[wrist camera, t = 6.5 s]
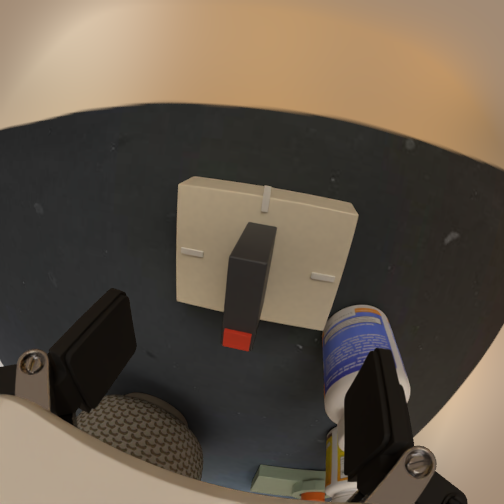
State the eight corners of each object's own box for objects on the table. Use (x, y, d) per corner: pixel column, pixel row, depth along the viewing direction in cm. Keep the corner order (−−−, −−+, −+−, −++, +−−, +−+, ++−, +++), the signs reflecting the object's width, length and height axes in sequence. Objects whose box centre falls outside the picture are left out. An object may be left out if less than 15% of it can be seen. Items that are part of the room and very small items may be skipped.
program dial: (248, 221, 15) (227, 258, 11) (277, 226, 15) (267, 266, 11) (238, 297, 18) (219, 347, 13) (263, 302, 17) (251, 354, 13)
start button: (328, 490, 29) (327, 500, 28) (320, 496, 31) (320, 505, 29) (305, 489, 29) (304, 499, 28) (298, 495, 31) (297, 504, 29)
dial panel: (353, 193, 16) (362, 205, 14) (320, 315, 20) (321, 339, 18) (194, 166, 17) (177, 173, 15) (188, 289, 21) (175, 309, 19)
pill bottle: (307, 334, 21) (301, 445, 12) (357, 288, 19) (383, 403, 10) (353, 364, 22) (362, 465, 13) (402, 325, 20) (435, 428, 11)
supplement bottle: (343, 445, 28) (342, 515, 19) (316, 432, 27) (311, 510, 18) (381, 429, 26) (388, 503, 17) (357, 414, 25) (360, 499, 16)
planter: (245, 444, 31) (218, 549, 16) (153, 442, 36) (118, 518, 22) (163, 358, 25) (88, 497, 11) (78, 371, 31) (19, 453, 17)
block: (341, 468, 32) (341, 490, 28) (318, 488, 36) (317, 506, 33) (261, 461, 33) (257, 484, 29) (252, 481, 38) (248, 499, 34)
